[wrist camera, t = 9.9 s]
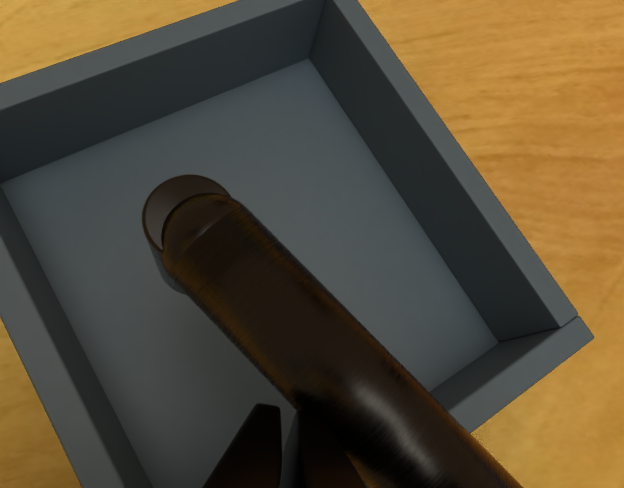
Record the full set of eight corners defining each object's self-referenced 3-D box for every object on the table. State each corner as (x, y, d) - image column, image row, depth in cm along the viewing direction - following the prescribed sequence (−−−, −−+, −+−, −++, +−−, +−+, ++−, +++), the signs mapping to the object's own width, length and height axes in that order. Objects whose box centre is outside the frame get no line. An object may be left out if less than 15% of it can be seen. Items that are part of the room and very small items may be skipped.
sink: (518, 352, 19) (596, 337, 15) (179, 599, 15) (167, 667, 11) (312, 46, 21) (334, -34, 17) (-28, 181, 17) (-98, 115, 13)
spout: (618, 604, 11) (783, 682, 8) (547, 733, 10) (702, 884, 7) (218, 196, 12) (220, 121, 9) (119, 277, 11) (81, 224, 8)
